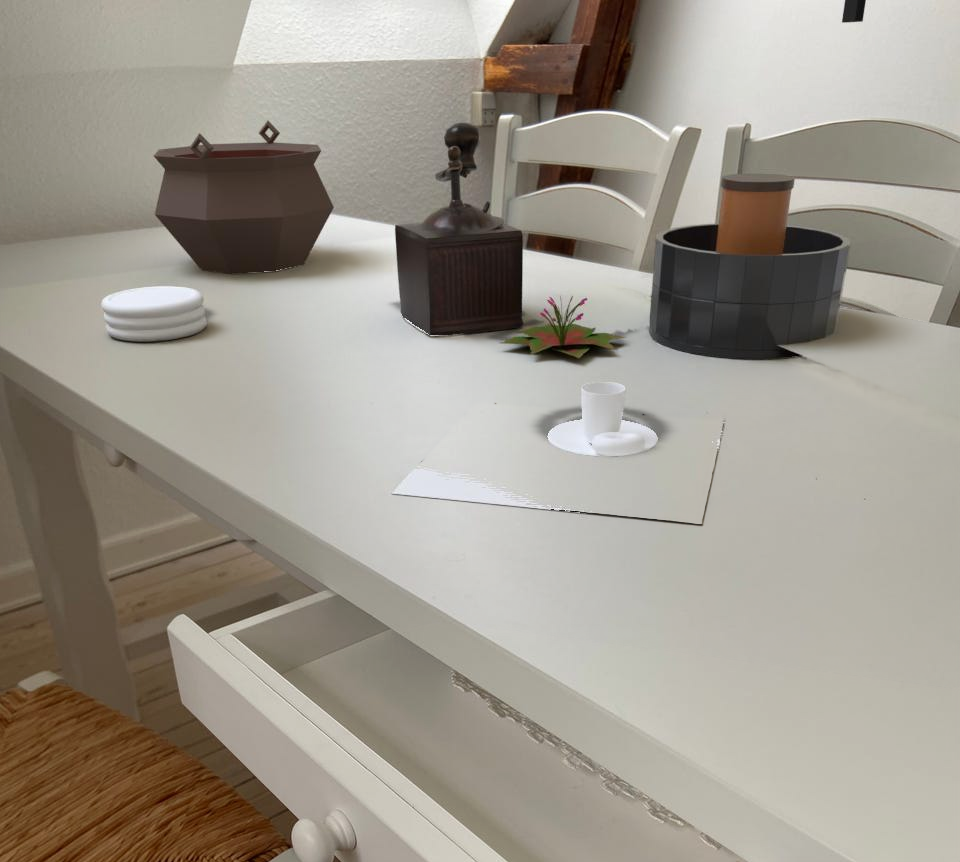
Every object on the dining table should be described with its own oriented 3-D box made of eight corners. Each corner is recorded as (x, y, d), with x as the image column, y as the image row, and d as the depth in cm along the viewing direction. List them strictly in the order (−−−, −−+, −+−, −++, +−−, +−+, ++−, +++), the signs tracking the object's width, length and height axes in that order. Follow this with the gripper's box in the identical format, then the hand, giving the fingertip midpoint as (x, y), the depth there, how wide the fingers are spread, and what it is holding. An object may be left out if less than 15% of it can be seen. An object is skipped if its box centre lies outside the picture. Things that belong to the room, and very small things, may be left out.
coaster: (116, 348, 97) (109, 311, 95) (99, 326, 105) (92, 291, 103) (218, 335, 101) (213, 299, 99) (194, 314, 109) (189, 281, 107)
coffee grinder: (531, 327, 102) (534, 130, 93) (428, 338, 99) (421, 135, 90) (476, 296, 115) (474, 120, 105) (383, 305, 111) (373, 124, 102)
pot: (873, 346, 95) (892, 245, 90) (713, 368, 89) (725, 262, 84) (761, 307, 109) (772, 218, 104) (616, 323, 103) (622, 230, 99)
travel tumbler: (787, 330, 97) (809, 179, 90) (731, 337, 95) (749, 183, 88) (748, 315, 102) (766, 172, 95) (693, 322, 100) (708, 175, 93)
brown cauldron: (207, 245, 146) (189, 119, 137) (365, 249, 141) (356, 119, 133) (125, 279, 126) (98, 133, 117) (307, 284, 121) (292, 134, 113)
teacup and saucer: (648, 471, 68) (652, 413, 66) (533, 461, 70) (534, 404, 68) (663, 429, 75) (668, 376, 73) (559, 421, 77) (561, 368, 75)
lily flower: (543, 325, 103) (544, 279, 100) (648, 342, 97) (651, 293, 94) (475, 352, 95) (474, 302, 92) (584, 372, 89) (587, 319, 86)
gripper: (1087, -269, 87) (1024, 20, 97) (810, -273, 84) (777, 24, 95) (1148, -295, 80) (1073, 17, 91) (850, -300, 78) (809, 21, 88)
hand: (922, 21), depth 93 cm, fingers open, 13 cm apart
